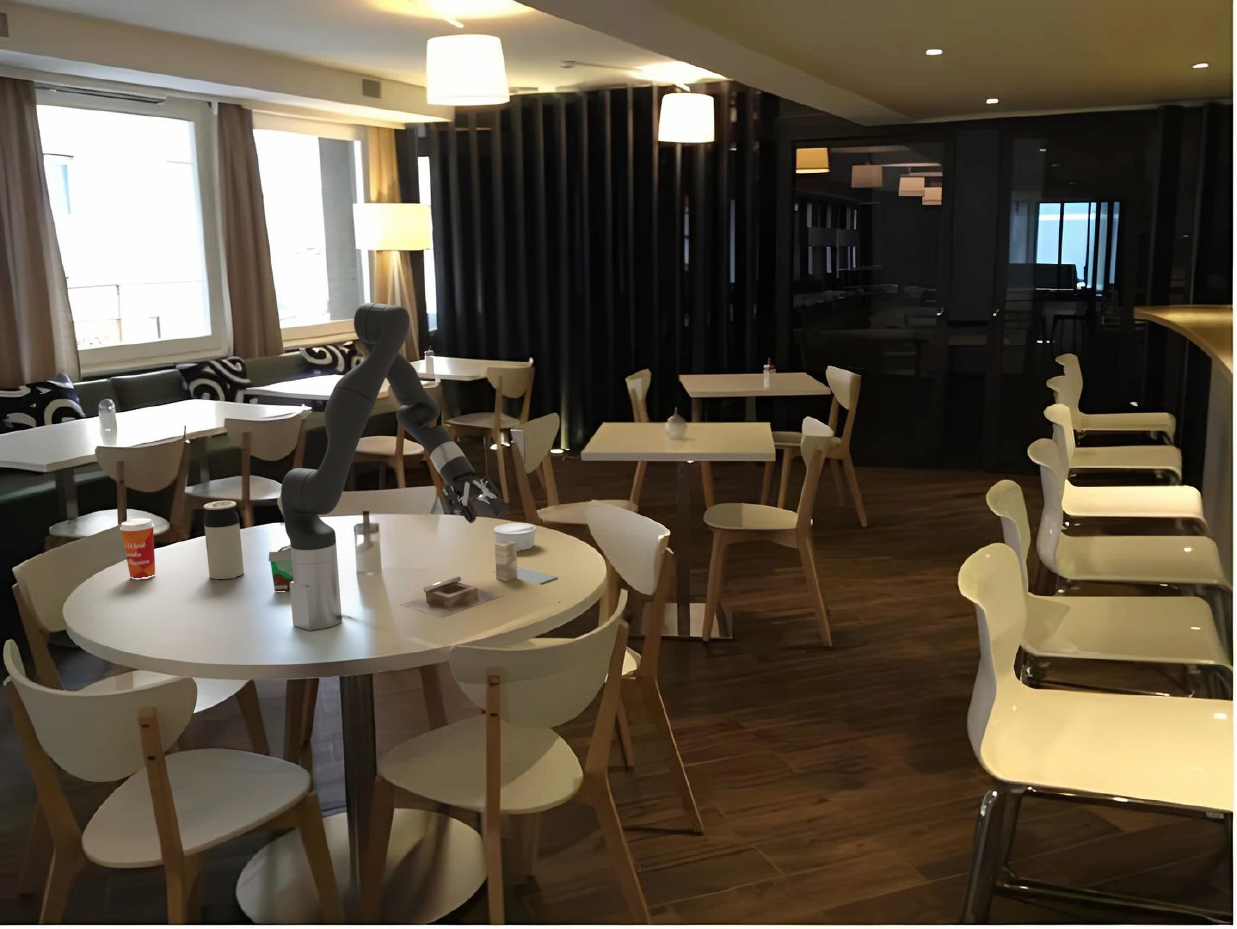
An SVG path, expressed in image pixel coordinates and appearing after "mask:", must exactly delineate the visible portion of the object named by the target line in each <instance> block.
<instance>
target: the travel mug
mask: <svg viewBox="0 0 1237 929" xmlns="http://www.w3.org/2000/svg"><path fill="white" fill-rule="evenodd" d="M236 506H237V502H236V501H233V500H219V501H218V500H217V501H211V502H208V503H206V504H204V505H203V508H204V509H205V515H204V518H203V526H204V536H205V545H206V546H205V547H206V554H207V565H208V575H209V578H211V579H212V580H213V579H214V580H218V579H225V580H230V579H229V578H232V579H235V578H234V577H236V578H238V577H237V576H239V577H240V576H242V575H243V574H244V573H245V571H244V570H245V568H244V560H243V548H242V540H241V537H242V536H241V526H240V516H239V514H238V512H237V511H236Z"/></svg>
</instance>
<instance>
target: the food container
mask: <svg viewBox="0 0 1237 929" xmlns="http://www.w3.org/2000/svg"><path fill="white" fill-rule="evenodd" d="M268 562H270V569H271V574H272V576H271V577H272V580H273V587H274V592H275V591H289V592H290V582H292V581H293V569H292V556H291V545H290V544H289V545H286V546H282V547H281V548H280V549H278V550H277V551H269V552H268Z"/></svg>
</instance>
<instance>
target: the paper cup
mask: <svg viewBox="0 0 1237 929" xmlns="http://www.w3.org/2000/svg"><path fill="white" fill-rule="evenodd" d="M153 522H154V521H153V519H151V518H142V517H141V518H135V519H134V518H133V519H129V520H126V521H122V522H121V525H120V528H119V529H120V531H121V533H122V539H123V545H124V551H125V556H126V562H127V567H128V571H129V572H128V574H129V577H133V578H142V577H148V576H152V575H154V574H155V575H156V559H155V538H154V536H155V535H154V534H155V533H154V527H155V524H154V523H153Z"/></svg>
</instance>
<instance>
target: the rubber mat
mask: <svg viewBox="0 0 1237 929" xmlns="http://www.w3.org/2000/svg"><path fill="white" fill-rule="evenodd" d="M491 573H493V574H496V569H495V570H493V571H491ZM557 578H559V576H557V575H553V574H548V573H544V572H540V571H535V570H532V569H526V568H522V567H518V566H517V578H516V579H517V580H522V581H525V582H528V583H529V582H530V583H533V584H538V585H544V584H546V583H549V582H551V581H550V580H552V581H554V580H553V579H555V580H557ZM548 581H549V582H548ZM545 582H546V583H545ZM543 583H544V584H543Z"/></svg>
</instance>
